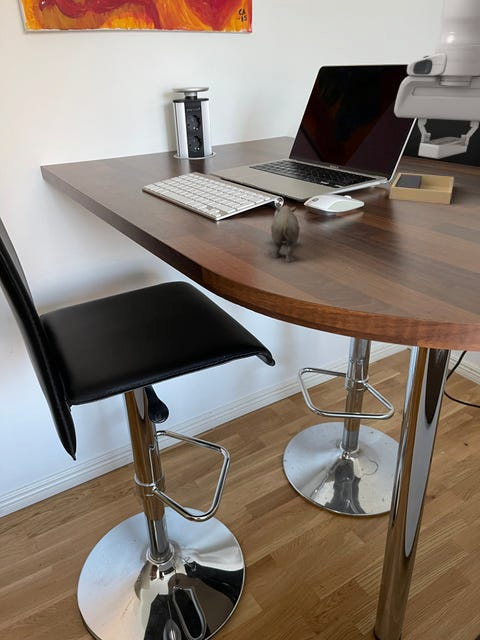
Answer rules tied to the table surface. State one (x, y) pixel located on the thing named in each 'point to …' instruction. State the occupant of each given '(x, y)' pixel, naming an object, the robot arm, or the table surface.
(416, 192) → the tray
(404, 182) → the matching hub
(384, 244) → the table surface
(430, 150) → the multiport hub
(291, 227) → the rhino figurine
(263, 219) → the table surface
